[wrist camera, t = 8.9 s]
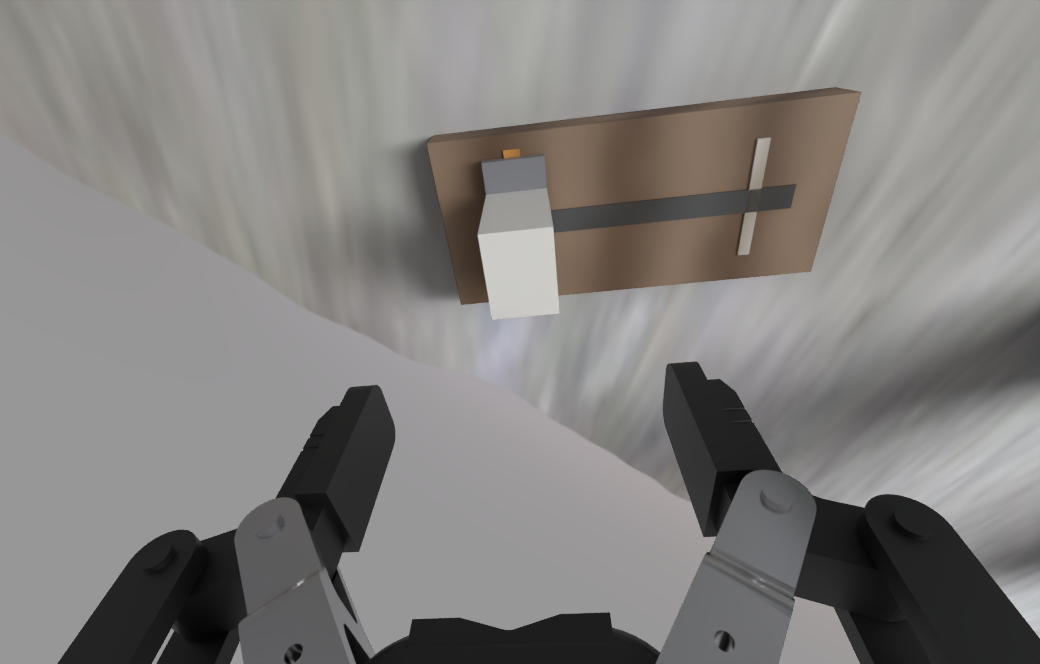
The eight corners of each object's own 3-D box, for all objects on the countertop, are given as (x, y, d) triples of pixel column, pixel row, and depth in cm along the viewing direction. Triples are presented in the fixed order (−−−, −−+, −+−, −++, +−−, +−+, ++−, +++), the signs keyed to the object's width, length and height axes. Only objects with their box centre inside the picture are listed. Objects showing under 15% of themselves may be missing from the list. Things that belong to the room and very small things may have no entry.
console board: (835, 87, 22) (862, 92, 20) (792, 256, 27) (811, 272, 25) (433, 135, 23) (426, 144, 21) (464, 288, 28) (460, 305, 26)
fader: (544, 153, 21) (550, 188, 17) (553, 283, 25) (561, 340, 20) (482, 160, 21) (470, 197, 17) (501, 288, 25) (496, 346, 21)
